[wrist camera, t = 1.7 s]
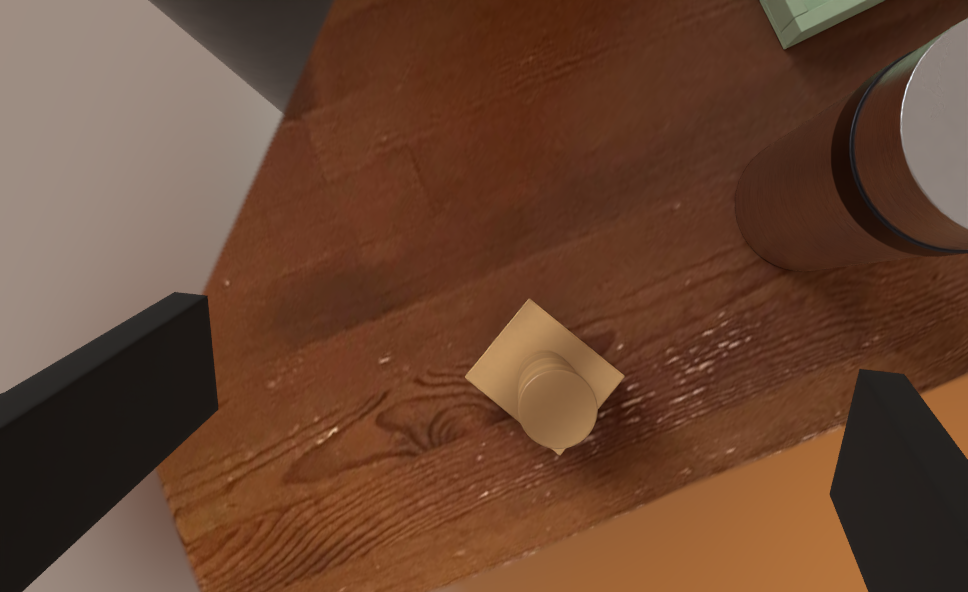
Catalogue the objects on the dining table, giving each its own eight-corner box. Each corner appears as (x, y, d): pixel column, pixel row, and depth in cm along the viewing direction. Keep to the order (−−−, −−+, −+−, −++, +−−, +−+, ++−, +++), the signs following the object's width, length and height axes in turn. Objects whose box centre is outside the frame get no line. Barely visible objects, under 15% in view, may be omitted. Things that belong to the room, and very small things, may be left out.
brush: (468, 372, 40) (438, 409, 25) (528, 299, 40) (534, 292, 25) (556, 445, 39) (580, 527, 24) (617, 371, 39) (678, 408, 24)
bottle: (709, 173, 39) (855, 68, 22) (834, 112, 39) (1078, -40, 22) (770, 296, 39) (965, 286, 22) (897, 236, 39) (1193, 178, 22)
